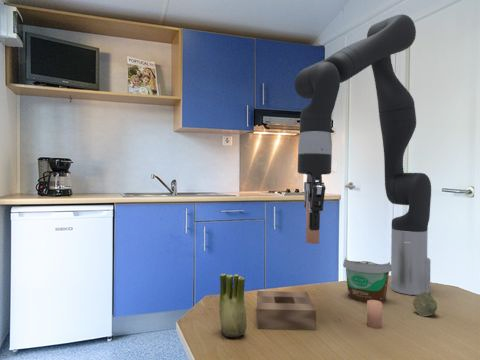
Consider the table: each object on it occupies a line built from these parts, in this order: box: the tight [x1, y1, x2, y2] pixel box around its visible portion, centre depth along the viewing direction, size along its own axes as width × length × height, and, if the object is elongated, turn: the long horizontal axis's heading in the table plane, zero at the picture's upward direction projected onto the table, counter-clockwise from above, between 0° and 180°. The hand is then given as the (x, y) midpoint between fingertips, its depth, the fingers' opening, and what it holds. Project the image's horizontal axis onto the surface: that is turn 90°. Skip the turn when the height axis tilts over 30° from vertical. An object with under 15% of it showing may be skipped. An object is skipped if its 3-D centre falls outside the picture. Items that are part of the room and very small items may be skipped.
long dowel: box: [305, 198, 321, 245], centre depth 81 cm, size 3×3×10 cm
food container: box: [342, 257, 392, 304], centre depth 92 cm, size 12×6×10 cm, turn 62°
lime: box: [412, 293, 438, 317], centre depth 83 cm, size 4×5×5 cm
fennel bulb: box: [219, 273, 248, 338], centre depth 71 cm, size 6×5×12 cm
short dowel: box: [366, 300, 383, 329], centre depth 76 cm, size 3×3×5 cm
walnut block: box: [256, 290, 317, 331], centre depth 80 cm, size 12×12×4 cm
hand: (312, 228), depth 81 cm, fingers closed on long dowel, 3 cm apart
